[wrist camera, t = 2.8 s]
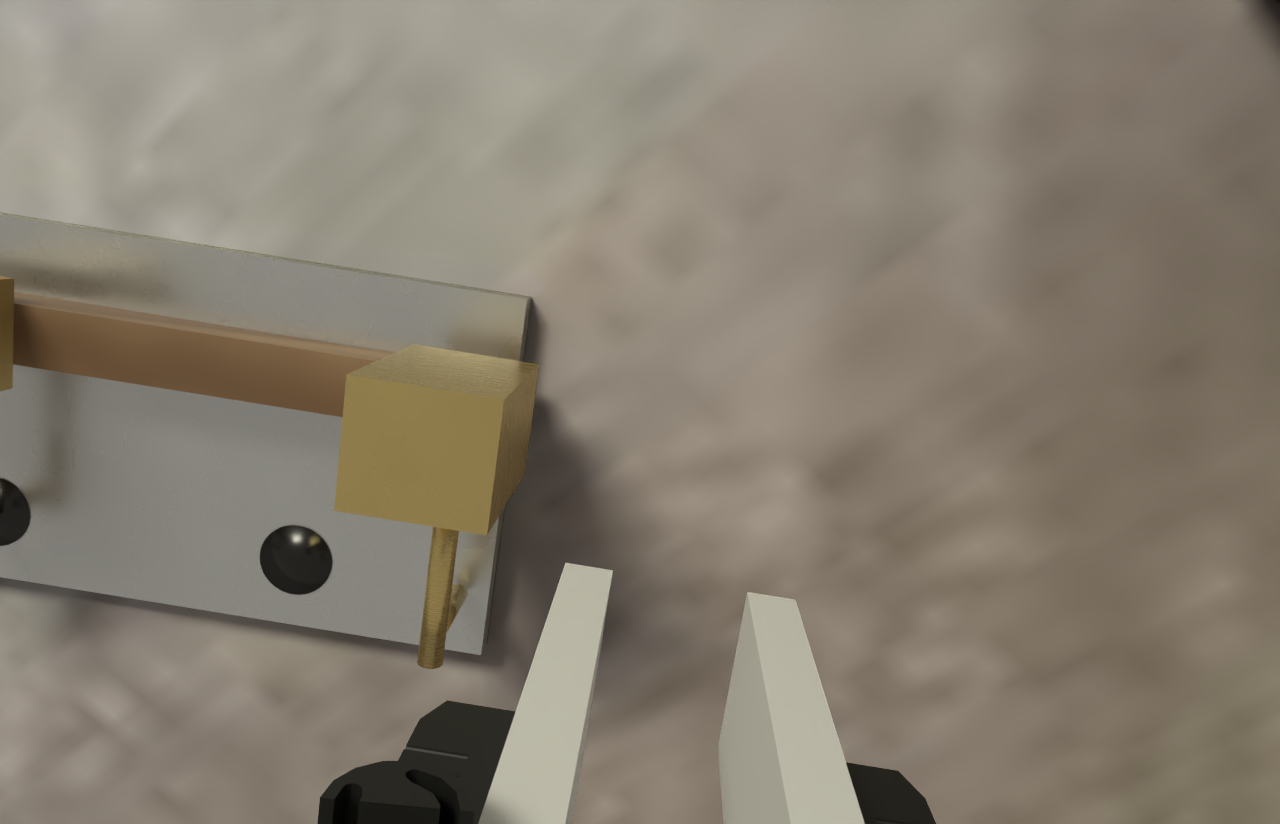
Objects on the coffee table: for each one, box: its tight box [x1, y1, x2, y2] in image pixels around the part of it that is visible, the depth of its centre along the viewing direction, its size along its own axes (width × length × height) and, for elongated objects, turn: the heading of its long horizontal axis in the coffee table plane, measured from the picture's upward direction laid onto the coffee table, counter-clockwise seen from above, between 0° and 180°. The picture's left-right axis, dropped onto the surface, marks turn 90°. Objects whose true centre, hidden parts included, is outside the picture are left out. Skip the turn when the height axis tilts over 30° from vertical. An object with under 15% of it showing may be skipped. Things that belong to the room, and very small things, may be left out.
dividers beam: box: [0, 276, 394, 417], centre depth 29 cm, size 10×21×8 cm, turn 81°
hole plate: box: [0, 213, 532, 655], centre depth 33 cm, size 13×21×1 cm, turn 81°
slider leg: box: [334, 344, 539, 669], centre depth 28 cm, size 10×4×8 cm, turn 171°
